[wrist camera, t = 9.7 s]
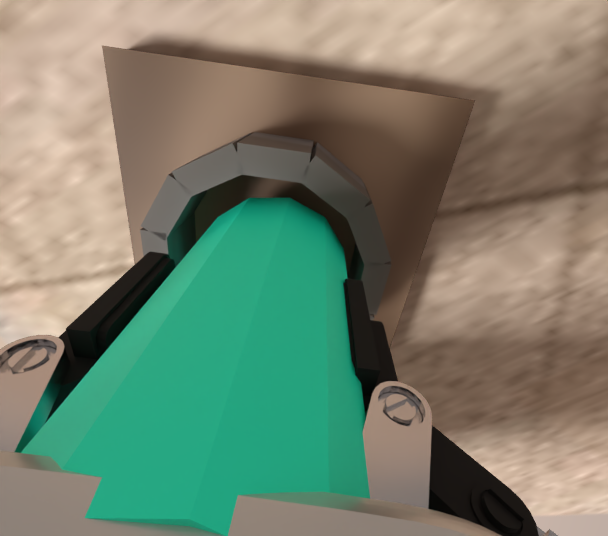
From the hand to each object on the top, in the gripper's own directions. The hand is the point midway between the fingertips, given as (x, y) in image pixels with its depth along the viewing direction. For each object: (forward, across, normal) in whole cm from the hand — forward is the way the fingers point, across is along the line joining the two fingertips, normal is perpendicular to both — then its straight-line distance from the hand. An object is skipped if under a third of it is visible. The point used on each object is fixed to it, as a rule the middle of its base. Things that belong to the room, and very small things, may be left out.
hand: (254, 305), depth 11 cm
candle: (+3, 0, 0) cm, 3 cm away
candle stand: (+7, 0, 0) cm, 7 cm away
